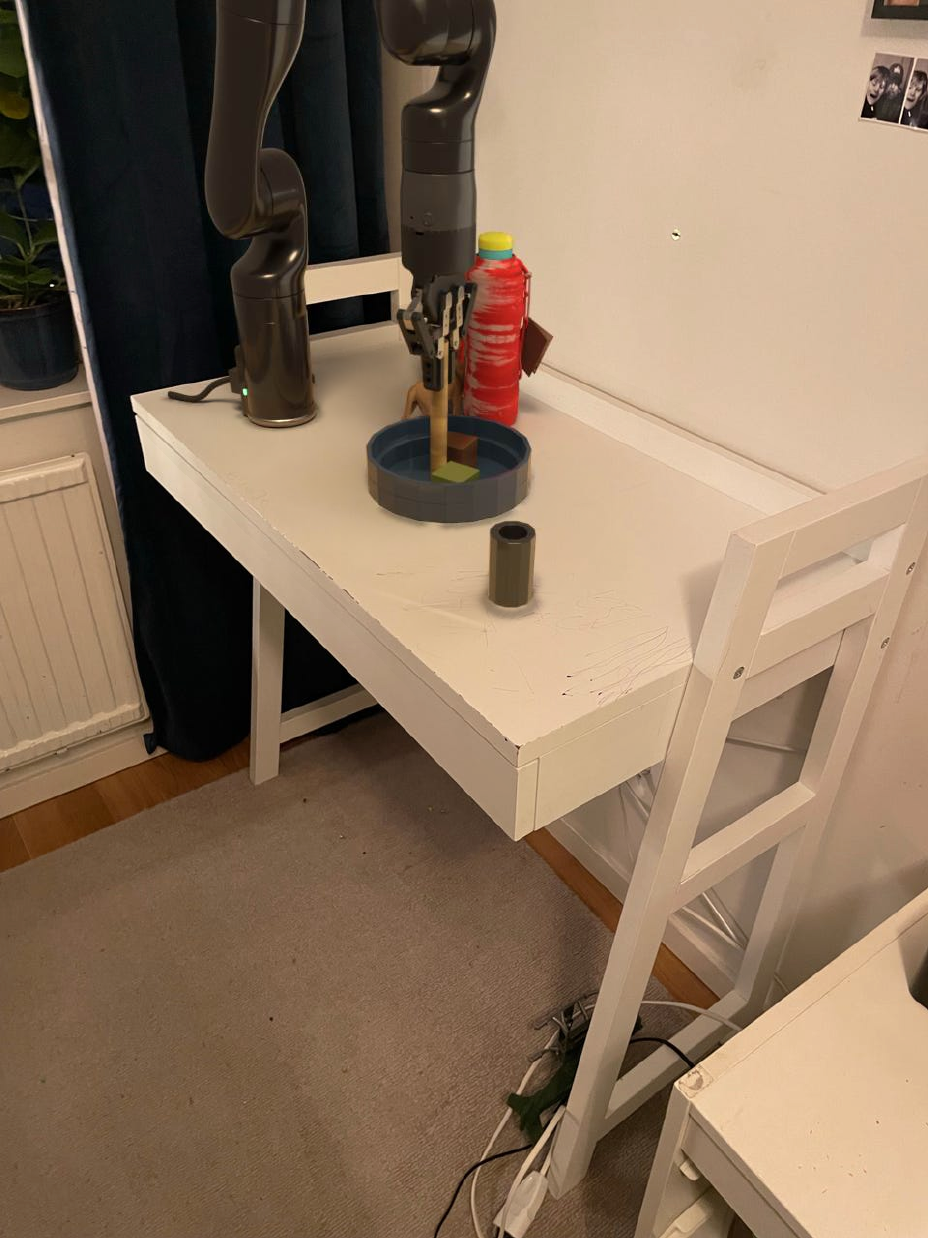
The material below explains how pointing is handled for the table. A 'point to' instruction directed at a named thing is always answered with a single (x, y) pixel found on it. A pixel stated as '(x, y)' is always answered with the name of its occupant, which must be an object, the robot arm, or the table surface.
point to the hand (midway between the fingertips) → (439, 385)
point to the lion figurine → (422, 395)
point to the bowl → (408, 491)
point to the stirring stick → (439, 419)
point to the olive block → (454, 473)
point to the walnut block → (462, 449)
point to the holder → (511, 563)
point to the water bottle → (499, 332)
